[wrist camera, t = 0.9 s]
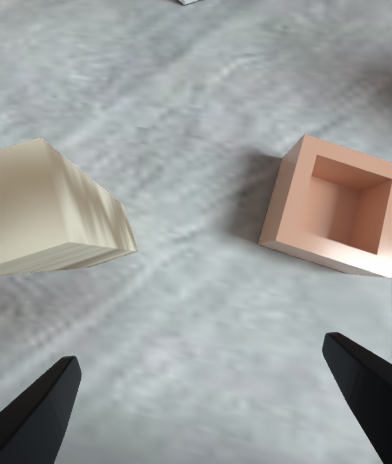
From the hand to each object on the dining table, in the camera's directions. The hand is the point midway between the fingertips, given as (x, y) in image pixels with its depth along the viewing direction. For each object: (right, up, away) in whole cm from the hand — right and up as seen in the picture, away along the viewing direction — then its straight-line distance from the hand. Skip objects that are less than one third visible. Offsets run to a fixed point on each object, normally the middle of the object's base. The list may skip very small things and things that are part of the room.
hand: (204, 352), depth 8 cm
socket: (+12, +6, +15) cm, 20 cm away
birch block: (-9, +4, +14) cm, 17 cm away
